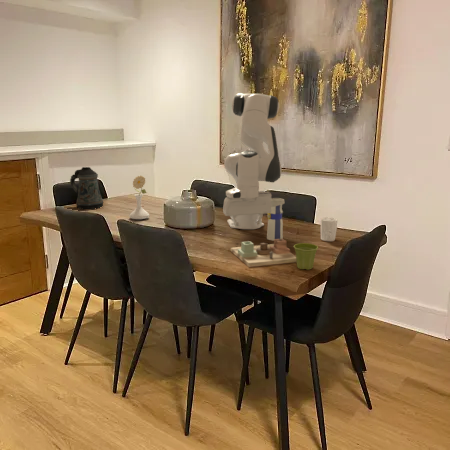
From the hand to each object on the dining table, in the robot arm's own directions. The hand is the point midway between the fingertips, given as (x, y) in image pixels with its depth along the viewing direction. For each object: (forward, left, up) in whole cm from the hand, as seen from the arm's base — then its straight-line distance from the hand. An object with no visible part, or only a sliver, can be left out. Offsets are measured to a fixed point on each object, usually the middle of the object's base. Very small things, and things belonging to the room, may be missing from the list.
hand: (247, 224), depth 189 cm
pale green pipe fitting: (0, 0, -13) cm, 13 cm away
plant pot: (+19, +18, -14) cm, 29 cm away
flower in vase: (-83, -32, -14) cm, 91 cm away
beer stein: (-125, -59, -14) cm, 140 cm away
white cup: (-14, +48, -14) cm, 52 cm away
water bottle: (-24, +24, -14) cm, 36 cm away
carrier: (0, +8, -14) cm, 16 cm away
